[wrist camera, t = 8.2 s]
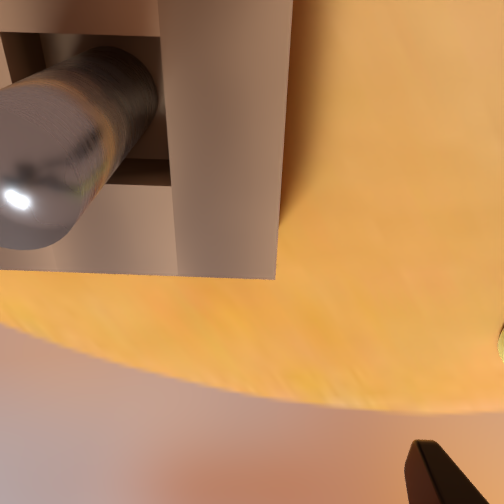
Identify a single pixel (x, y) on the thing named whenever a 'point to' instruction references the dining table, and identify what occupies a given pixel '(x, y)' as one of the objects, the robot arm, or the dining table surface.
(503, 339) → the tube
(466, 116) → the dining table surface
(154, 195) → the bore block
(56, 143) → the pin
